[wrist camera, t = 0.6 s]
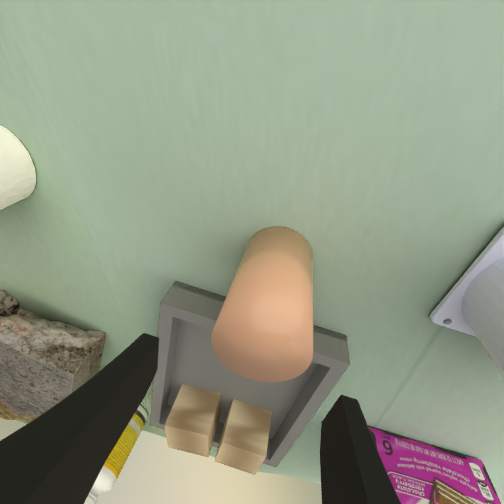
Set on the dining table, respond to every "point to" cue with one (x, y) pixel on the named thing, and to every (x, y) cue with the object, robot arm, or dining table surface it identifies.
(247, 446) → the beech block
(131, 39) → the dining table surface
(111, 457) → the supplement bottle
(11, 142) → the white sack
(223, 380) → the tray
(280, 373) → the flesh-toned capsule
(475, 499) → the candy bar box
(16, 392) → the geological specimen
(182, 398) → the beech block
